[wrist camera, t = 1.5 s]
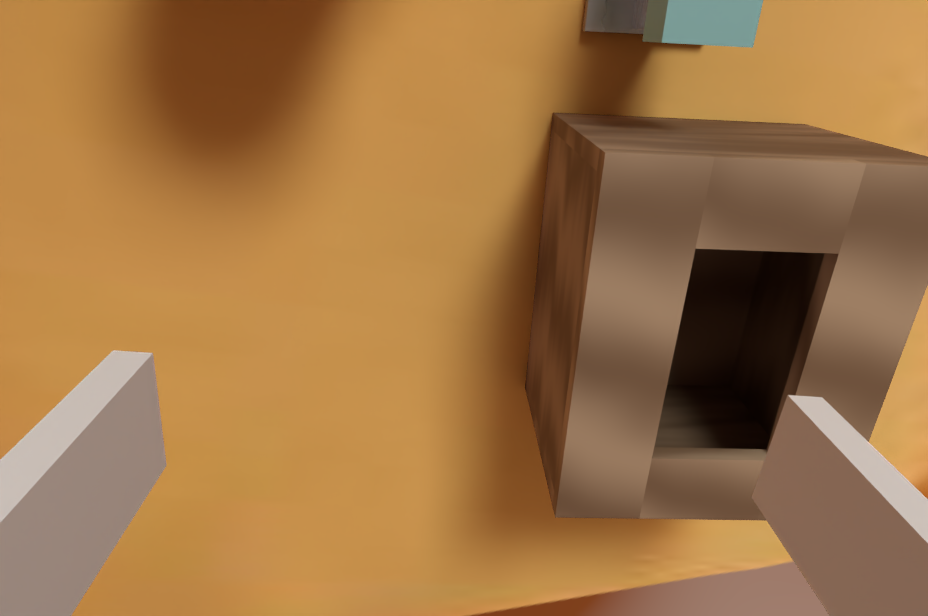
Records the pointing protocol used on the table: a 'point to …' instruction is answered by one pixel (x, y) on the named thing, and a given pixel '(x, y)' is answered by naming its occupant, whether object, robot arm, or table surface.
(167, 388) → the table surface
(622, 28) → the stand
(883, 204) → the coin box
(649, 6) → the teal rectangular block
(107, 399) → the robot arm
